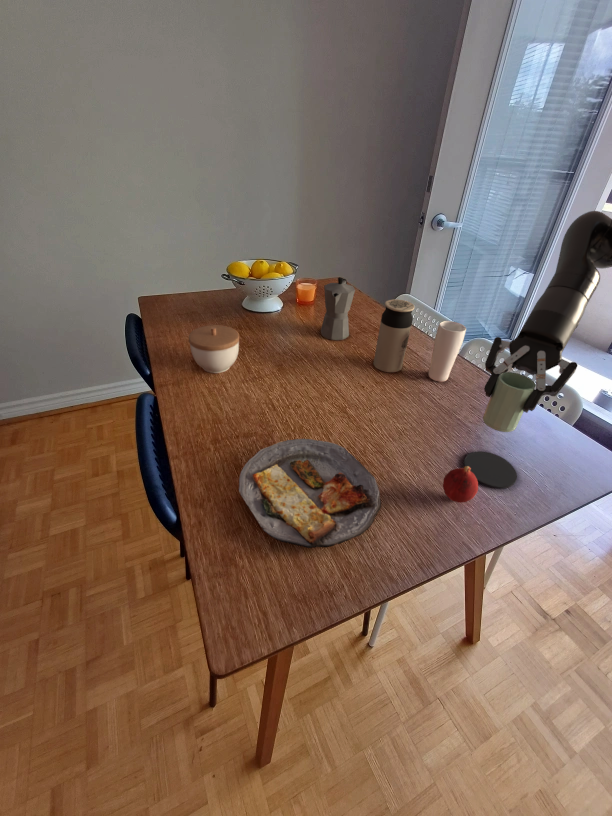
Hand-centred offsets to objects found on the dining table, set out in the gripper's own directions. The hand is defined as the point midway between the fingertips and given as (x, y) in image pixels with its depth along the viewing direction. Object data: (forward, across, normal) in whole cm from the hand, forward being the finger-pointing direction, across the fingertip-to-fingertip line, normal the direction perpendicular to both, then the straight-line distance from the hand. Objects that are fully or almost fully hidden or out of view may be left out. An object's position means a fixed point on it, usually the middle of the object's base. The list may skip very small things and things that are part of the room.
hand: (506, 402), depth 69 cm
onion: (+19, 0, +5) cm, 20 cm away
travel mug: (-5, -35, +29) cm, 46 cm away
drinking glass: (-8, -22, +32) cm, 40 cm away
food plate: (+31, -20, -8) cm, 38 cm away
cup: (+3, 0, +5) cm, 6 cm away
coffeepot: (-9, -59, +33) cm, 68 cm away
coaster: (+10, +2, +14) cm, 17 cm away
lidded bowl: (+20, -67, +4) cm, 70 cm away
